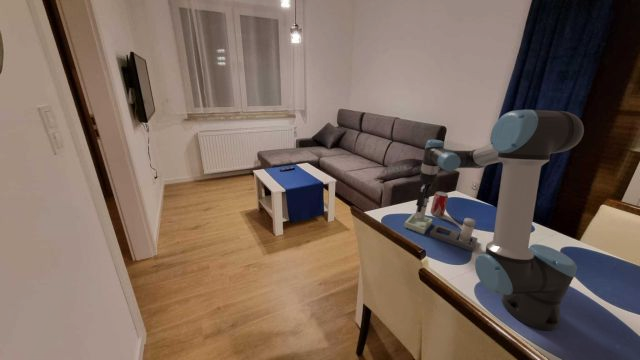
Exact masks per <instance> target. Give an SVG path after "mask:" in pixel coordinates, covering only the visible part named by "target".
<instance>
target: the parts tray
mask: <svg viewBox="0 0 640 360" xmlns="http://www.w3.org/2000/svg"><path fill="white" fill-rule="evenodd" d="M415 214H416V212H413V213H412V214H411V215H410V216H409V217H408V219H406V220H405V222H404V224H403V228H406V229H407V228H408V229H407V230H410V229H411V230H410V231H413V232H415V231H416V233H418V234H421V235H423V234H425V233H426V232H427V231H428V230H429V228H430V227H431V226H432V223H433V219H432V218H431V217H427V216H424V221H423V222H418V221H416V220H415V219H414V218H415Z"/></svg>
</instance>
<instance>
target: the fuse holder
mask: <svg viewBox="0 0 640 360" xmlns="http://www.w3.org/2000/svg"><path fill="white" fill-rule="evenodd" d="M475 225H476V220H475V219H474V218H472V217H471V218H469V217H465V218H464V220H463V224H462V226H461V231H458V230H454V229H453V228H452V229H451V228H449V227H446V226H443V225H440V224H437V223H436V224H435V225H434V227H432V229H431V230H430V232H429V236H430V237H431V238H432V237H433V238H435V239H436V240H439V241H443V242H445V243H448V244H450V245H454V246H457V247H459V248H461V249H464V250H467V251H469V252H472V253H473V252H474V249H475V247H476V244H477V243H478V237H475V236H472V234H473V231H474V230H475V229H474V228H475V227H476V226H475ZM438 231H439V232H440V233H439V232H438ZM443 233H444V234H443ZM445 234H447V235H448V236H447V235H445Z"/></svg>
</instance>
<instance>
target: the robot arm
mask: <svg viewBox="0 0 640 360" xmlns="http://www.w3.org/2000/svg"><path fill="white" fill-rule="evenodd" d="M584 132H585V127H584V124H583V122H582V120H581V119H580V118H579V117H578V116H577V115H576V114H574V113H571V112H568V111H563V110H544V109H543V110H539V109H518V110H511V111H508V112H506V113H504V114H503V115H502V116H500V118H499V119H497V121H496V122H495V123H494V125H493V127H492V129H491V132H490V137H489V140H490V144H488V145H487V144H486V145H485V146H481V147H478V148H475V149H472V150H451V149H450V150H449V149H445V148H444V147H445V142H444V141H442V140H439V139H428V140H427V141H426V143H425V144H426V145H425V146H424V153H423V158H422V163H421V167H420V173H419V178H418V179H420V181H422V182H421V184H420V187H419V189H418V196H417V200H416V204H415V205H416V209H417V211H416V210H415V213H416V217H419V218H421V216H422V212H423V207H424V206H423V204H424V201H425V197H426V198H428V203H430V200H429V199H430V195H431V192H432V191H431V190H432V186H433V183H435V182H437V177H438V173H439V171H440V170H441V169H443V170H445V171H447V172H452V171H455V170H457V169H484V168H486V167H487V166H488V165H492V164H496V163H502V171H501V178H500V185H499V192H498V201H497V207H496V217H495V222H494V224H495V225H494V231H493V236H492V237H493V239H492V240H491V241H489V242H487V243H486V246H485V253H480V254H479V255H477V256H476V258H475V260H474V269H475V273H476V276H477V277H478V279H479V281H480V283H481V284H482V285H483V287H484V288H485V289H487V291H489V292H490V293H492V294H495V295H502V297H501V302H502V305H503V307H504V309H505V310H506V311H507V312H508V313H509V314H510V315H511V316H512V317H513V318H515V319H516V320H518V321H519V322H520V323H523V324H524V325H526V326H529V327H531V328H533V329H536V330H541V331H553V330H556V329H557V328H558V327H559V324H560V323H561V302H562V300H563V298H564V297H565V295H566V292H567V291H568V289H569V287H570V285H571V284H572V281H573V279H574V278H575V277H576V275H575V274H576V273H577V270H578V266H577V264H576V261H574V260H573V259H572V258H570V257H569V256H568V255H566V254H565V253H563V252H561V251H559V250H557V249H555V248H552V247H550V246H547V245H542V244H538V243H537V244H536V243H535V244H530V240H531V239H530V238H531V233H532V227H533V221H534V213H535V208H536V202H537V195H538V188H539V184H540V183H539V181H540V175H541V169H542V166H543V165H545V164H546V163H548V162H550V158H551V154H557V153H563V152H566V151H569V150H571V149H573V148H574V147H576V146H577V145H578V144H579V143H580V142H581V140H582V138H583V136H584ZM428 203H427V204H428ZM529 245H530V246H529Z"/></svg>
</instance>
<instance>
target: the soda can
mask: <svg viewBox="0 0 640 360" xmlns="http://www.w3.org/2000/svg"><path fill="white" fill-rule="evenodd" d="M448 200H449V194H448V193H447V192H445V191H442V190H441V191H440V190H439V191H435V193H434V195H433V199H432V202H431V203H432V204H431V207H430V213H431V214H432V215H433V216H434V217H436V218H437V217H438V218H440V217H441V218H442V217H443V216H444V215H445V212H446V207H447V205H448Z"/></svg>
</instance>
